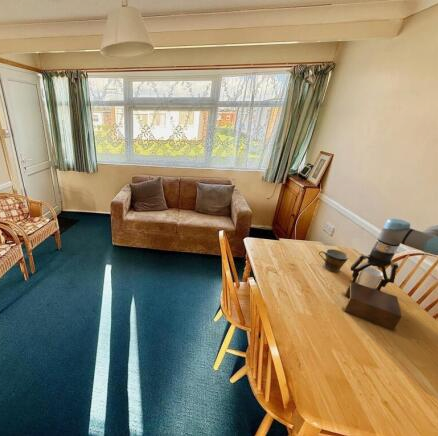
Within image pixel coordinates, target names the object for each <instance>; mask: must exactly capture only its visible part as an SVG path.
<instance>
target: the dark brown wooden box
mask: <svg viewBox="0 0 438 436" xmlns="http://www.w3.org/2000/svg"><path fill="white" fill-rule="evenodd" d="M344 296H345V297H347V298H349V299H348V300H347V303H346V305H345V307H344V309H343V311H344V312H346V313H348V314H351V315H353V316H355V317H358V318H361V319H362V320H365V321H368V322H371V323H373V324H376V325H379V326H381V327H384V328H387V329H389V330H391V331H394V329H395V328H396V326H398V323H399V322H400V321H401V319H402V317H403V314H402V311H401V307H400V302H399V299H398V296H397V295H393V294H391V293H387V292H385V291H381V290H380V291H378V290H376V288H375V289H372V288H369V287H366V286H363V285H360V284H357V282H355V283H354V282H352V281H350V283H349V284H348V287H347V288H346V290H345V293H344Z"/></svg>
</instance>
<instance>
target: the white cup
mask: <svg viewBox="0 0 438 436" xmlns="http://www.w3.org/2000/svg"><path fill="white" fill-rule="evenodd" d="M383 278H384V276H383V272H382V270H379V269H377V268H374V267H373V266H372V267H371V266H369V267H367V268H365V269H363V270H362V271H360V272H359V275H358V277H357V280H356V283H357V284H360V285H363V286H366V287H369V288H372V289H375V290H376V288H377V287H378V285H379V283H380V281H381V279H383Z"/></svg>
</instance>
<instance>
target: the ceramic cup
mask: <svg viewBox="0 0 438 436" xmlns="http://www.w3.org/2000/svg"><path fill="white" fill-rule="evenodd" d="M321 253H323V254H324V256H325V258H324V257H323V256H322V255H321ZM318 255H319V256H320V257H321V258H322V260H323V261H324V268H325V270H328V271H330V272H334V273H337V272H339V271H340V270H341V269H342V267H343V266H344V265H345V264H346V263H347V261H348V259H349V255H348V254H347V253H345V252H344V251H341V250H338V249H333V248H329V249H326V251H322V250H321V251H319V252H318Z"/></svg>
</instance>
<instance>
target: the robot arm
mask: <svg viewBox="0 0 438 436" xmlns="http://www.w3.org/2000/svg"><path fill="white" fill-rule="evenodd" d="M384 223H385V224H384V225H383V226H382V228H381V231H380V234H379V235H378V237H377V238H376V241H375V244H374V245H373V247H372V249H371V251H370V253H369V254H368V255H365V254H363V253H360V254H359V257H358V258H357V259H356V260H355V262H353V264H352V265H351V266H350V271H352V274H351V277H352V280H351V282H354V283H356V282H357V280H358V278H359V275H360V273H361V271H362V270H363V269H365V268H367V267H371V266H372V267H376V268H379V269H381V272H382V273H383V278H381V280H380V282H379V283H378V284H377V286H376V287H375V290H378V291H381V289H382V288H385V287H386V286H387V284H389V283H391V284H394V283H395V278H396V271H397V270H398V268H399V264H398V263H397V262H392V259H393V258H394V256H395V254H396V253H397V250H398V249H399V246H400V245H404V246H406V247H409V248H412V249H415V250H417V251H421V252H423V253H425V254H430V255H433V256H438V224H437V225H432V226H429V227H427V228H426V229H424V230H422V231H420V230H416V229H413V228H411V222H408V221H406V220H403V219H399V218H388V219H387V220H386V221H385V222H384ZM366 259H367V260H366ZM363 260H364V261H365V260H366V262H364V263H362V262H363ZM361 263H362V264H361ZM360 264H361V265H360ZM388 266H390V268H391V270H390V275H389V278H388V275H387V271H386V270H387V269H386V267H388Z"/></svg>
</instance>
